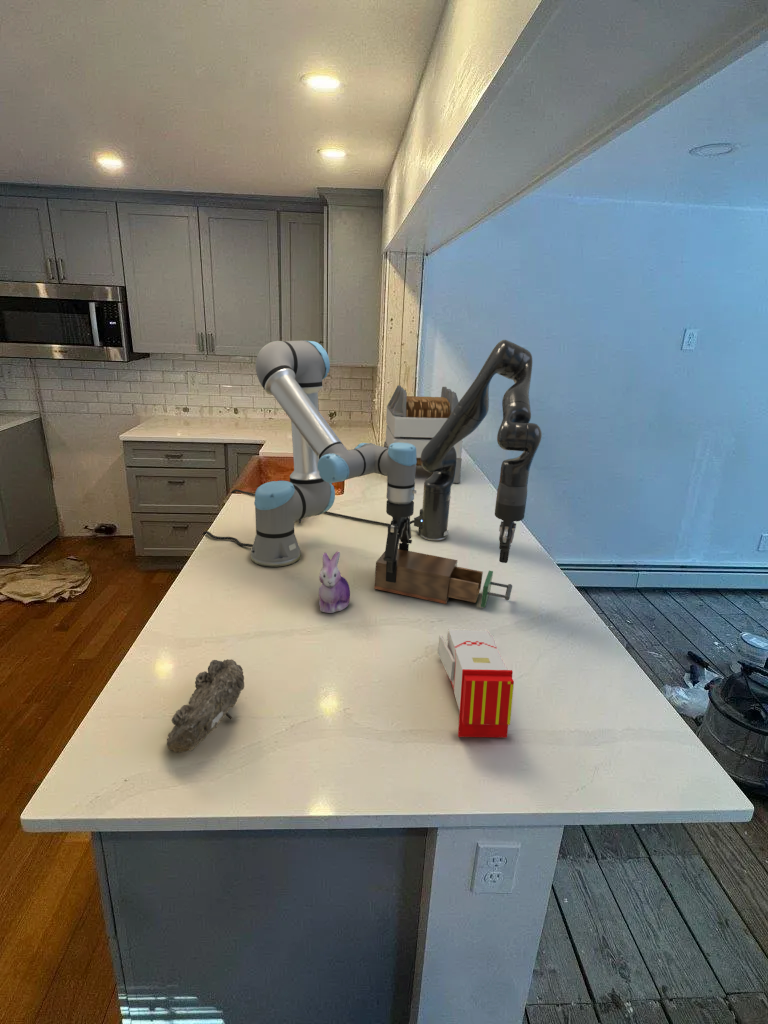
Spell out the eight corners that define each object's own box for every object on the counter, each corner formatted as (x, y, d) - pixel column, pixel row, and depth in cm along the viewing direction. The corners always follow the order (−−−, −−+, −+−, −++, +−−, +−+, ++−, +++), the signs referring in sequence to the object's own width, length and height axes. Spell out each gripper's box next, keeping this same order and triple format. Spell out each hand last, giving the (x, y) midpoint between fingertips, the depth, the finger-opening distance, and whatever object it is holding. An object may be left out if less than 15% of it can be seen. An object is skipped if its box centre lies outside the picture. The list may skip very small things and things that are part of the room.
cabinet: (454, 586, 164) (457, 560, 161) (446, 604, 154) (449, 576, 151) (386, 572, 169) (388, 546, 167) (374, 588, 159) (375, 561, 156)
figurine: (324, 618, 144) (324, 564, 139) (310, 599, 152) (310, 548, 147) (358, 610, 148) (359, 558, 143) (342, 593, 156) (343, 543, 151)
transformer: (382, 463, 289) (386, 382, 275) (445, 464, 293) (451, 384, 279) (390, 482, 257) (394, 392, 243) (460, 483, 261) (468, 394, 247)
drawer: (511, 595, 159) (514, 575, 156) (507, 612, 150) (510, 591, 147) (423, 577, 165) (425, 558, 163) (414, 593, 156) (416, 572, 154)
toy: (488, 613, 130) (523, 677, 101) (484, 667, 133) (517, 744, 104) (435, 612, 130) (455, 676, 101) (432, 666, 133) (451, 743, 103)
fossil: (192, 660, 117) (244, 628, 112) (224, 691, 120) (276, 661, 115) (142, 746, 98) (202, 712, 93) (182, 779, 101) (242, 748, 96)
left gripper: (401, 515, 143) (397, 593, 150) (424, 489, 164) (420, 558, 171) (373, 511, 145) (371, 588, 152) (399, 486, 166) (396, 554, 174)
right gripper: (523, 509, 138) (515, 574, 144) (528, 494, 150) (520, 554, 156) (493, 505, 140) (485, 569, 146) (499, 490, 152) (492, 550, 158)
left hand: (397, 572), depth 162 cm, fingers closed on cabinet, 11 cm apart
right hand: (503, 561), depth 151 cm, fingers closed
